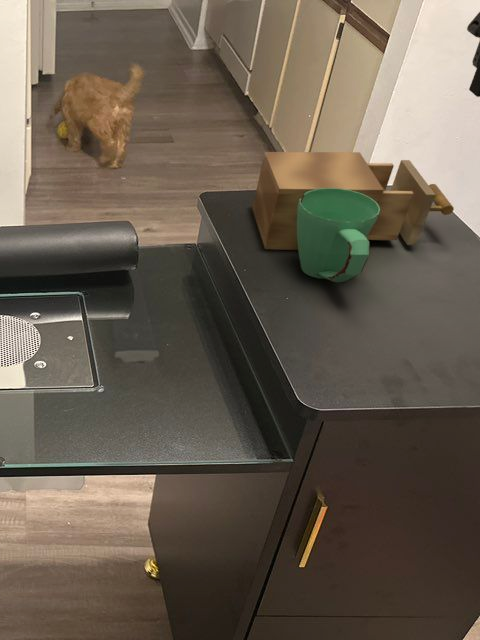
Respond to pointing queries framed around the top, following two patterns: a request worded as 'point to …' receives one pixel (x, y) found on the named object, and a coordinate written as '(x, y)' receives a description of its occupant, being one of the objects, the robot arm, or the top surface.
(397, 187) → the drawer
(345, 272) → the mug
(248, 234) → the top surface
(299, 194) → the cabinet
